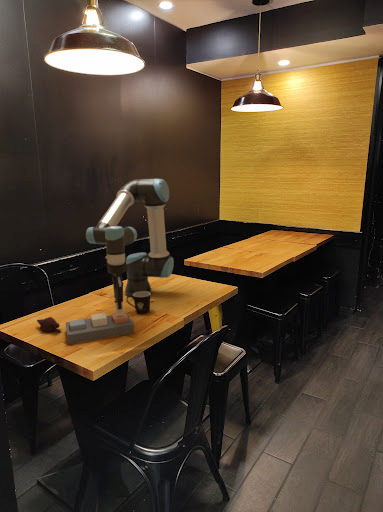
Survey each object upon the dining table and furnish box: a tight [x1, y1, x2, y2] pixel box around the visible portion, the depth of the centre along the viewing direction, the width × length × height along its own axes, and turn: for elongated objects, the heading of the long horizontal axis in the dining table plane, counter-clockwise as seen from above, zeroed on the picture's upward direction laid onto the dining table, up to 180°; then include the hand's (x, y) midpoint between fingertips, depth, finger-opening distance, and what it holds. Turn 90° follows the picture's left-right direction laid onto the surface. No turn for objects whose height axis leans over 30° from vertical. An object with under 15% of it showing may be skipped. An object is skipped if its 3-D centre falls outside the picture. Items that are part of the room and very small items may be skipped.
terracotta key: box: [111, 312, 128, 324], centre depth 162 cm, size 6×6×4 cm
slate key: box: [68, 318, 86, 331], centre depth 155 cm, size 6×6×4 cm
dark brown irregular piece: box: [36, 316, 62, 334], centre depth 162 cm, size 7×7×15 cm
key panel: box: [65, 312, 135, 345], centre depth 159 cm, size 27×14×5 cm, turn 111°
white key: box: [90, 312, 107, 327], centre depth 158 cm, size 6×6×4 cm
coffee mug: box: [125, 291, 152, 315], centre depth 182 cm, size 12×9×10 cm
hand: (119, 315), depth 161 cm, fingers closed
